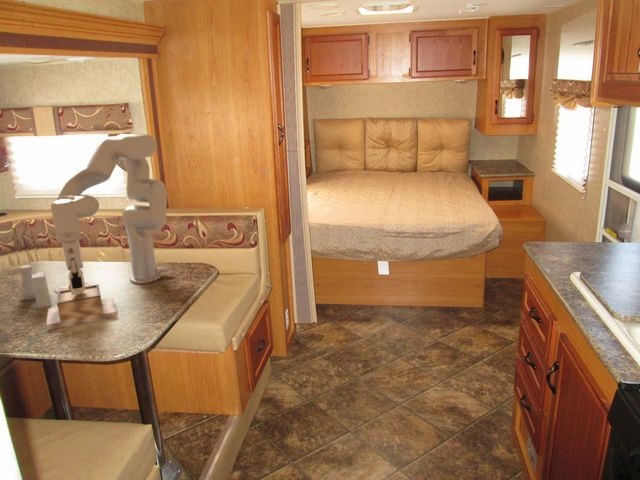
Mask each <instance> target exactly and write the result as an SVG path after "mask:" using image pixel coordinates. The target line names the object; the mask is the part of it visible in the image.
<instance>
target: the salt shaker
mask: <svg viewBox="0 0 640 480" xmlns="http://www.w3.org/2000/svg"><path fill="white" fill-rule="evenodd" d="M32 271H33V268H32V266H31V265H29V264H27V265H22V266H20V267H19V268H18V272H19V273H20V274H21V288H20V289H21V295H22V297H23V298H24V300H28V301H30V300H33V299H35V300H36V296H35V292H34V288H33V283H32V274H33V273H32Z"/></svg>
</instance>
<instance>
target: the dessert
mask: <svg viewBox="0 0 640 480" xmlns="http://www.w3.org/2000/svg"><path fill="white" fill-rule="evenodd" d="M84 283H85V286H91V285H90V284H88V283H87V282H86V281H85V280H84ZM67 289H71V288H70V284H69V285H65V286H62V287H56V288H54V289H53V290H54V291H55V292H56V293H57V294H58V291H61V290H67Z"/></svg>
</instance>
